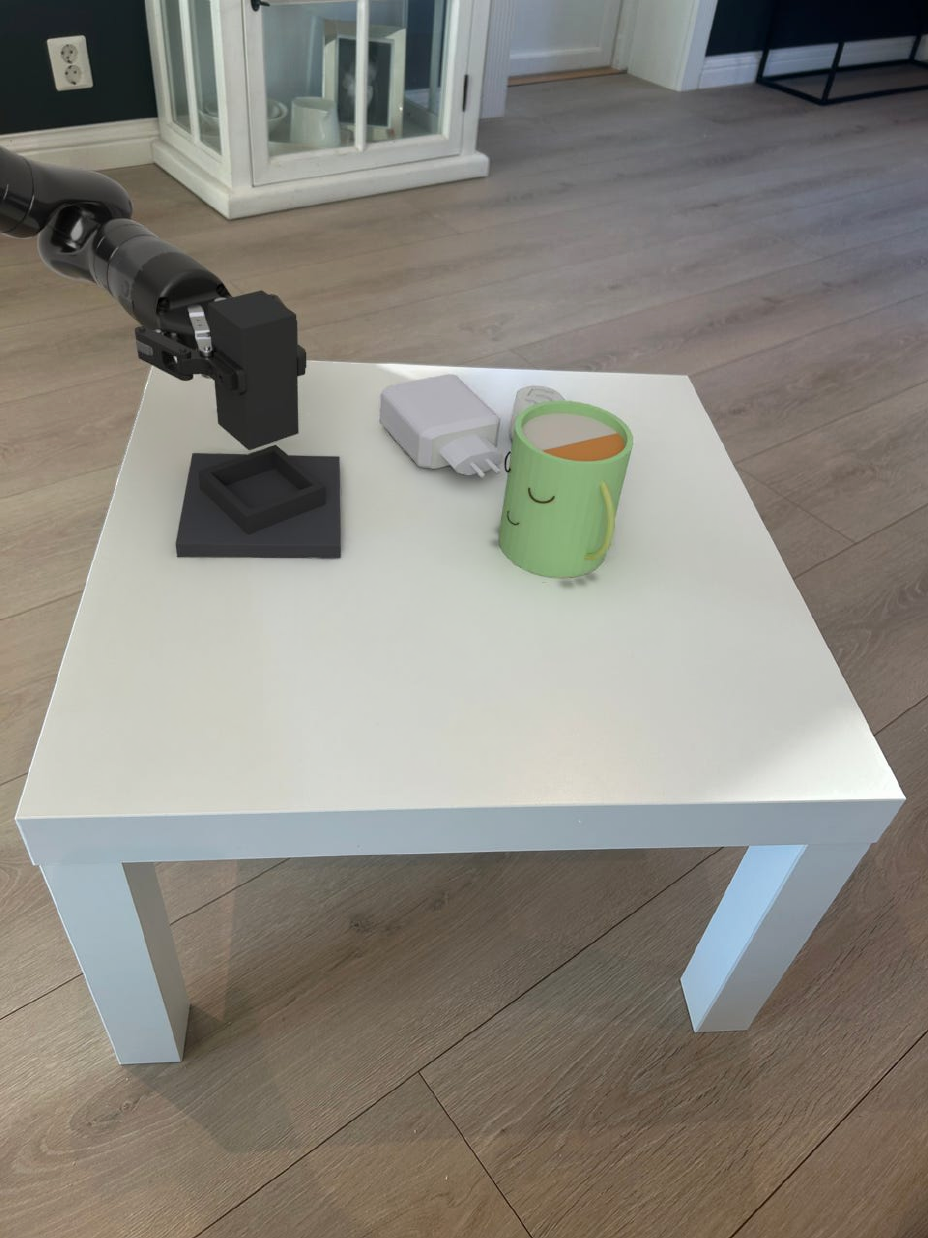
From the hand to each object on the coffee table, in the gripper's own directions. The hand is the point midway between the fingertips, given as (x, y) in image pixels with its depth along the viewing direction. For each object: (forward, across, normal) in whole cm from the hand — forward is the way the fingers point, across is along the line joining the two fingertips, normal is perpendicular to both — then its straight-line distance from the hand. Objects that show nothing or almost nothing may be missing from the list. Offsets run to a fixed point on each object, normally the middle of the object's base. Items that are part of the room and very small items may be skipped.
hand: (271, 374), depth 78 cm
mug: (+18, -19, -15) cm, 30 cm away
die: (+2, -30, -15) cm, 34 cm away
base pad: (-2, 0, -15) cm, 15 cm away
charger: (0, -21, -15) cm, 26 cm away
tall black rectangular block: (-3, 0, -6) cm, 7 cm away
